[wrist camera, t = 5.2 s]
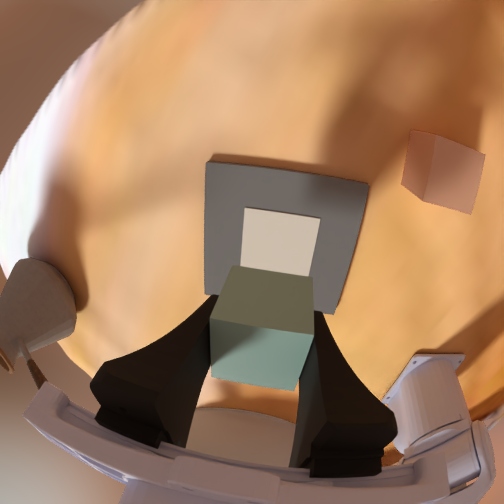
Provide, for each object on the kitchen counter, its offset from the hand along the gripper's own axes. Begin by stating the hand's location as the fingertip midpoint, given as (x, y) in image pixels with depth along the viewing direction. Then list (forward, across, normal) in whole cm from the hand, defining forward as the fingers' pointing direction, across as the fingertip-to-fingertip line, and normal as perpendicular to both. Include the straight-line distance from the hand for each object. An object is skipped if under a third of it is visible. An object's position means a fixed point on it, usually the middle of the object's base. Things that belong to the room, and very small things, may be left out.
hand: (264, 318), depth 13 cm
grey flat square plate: (+8, 0, 0) cm, 8 cm away
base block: (+2, 0, 0) cm, 2 cm away
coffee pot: (+9, +22, +10) cm, 26 cm away
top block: (+8, -10, -8) cm, 15 cm away
